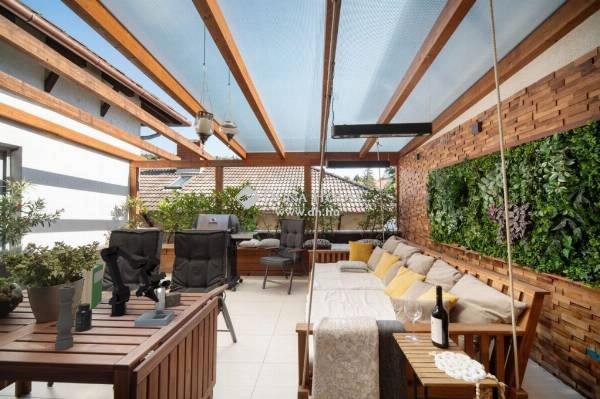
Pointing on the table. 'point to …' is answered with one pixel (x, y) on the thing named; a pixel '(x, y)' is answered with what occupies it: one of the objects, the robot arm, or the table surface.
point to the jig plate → (154, 319)
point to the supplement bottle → (83, 317)
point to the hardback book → (92, 286)
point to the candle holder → (65, 319)
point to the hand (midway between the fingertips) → (162, 300)
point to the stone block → (172, 299)
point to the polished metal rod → (160, 301)
